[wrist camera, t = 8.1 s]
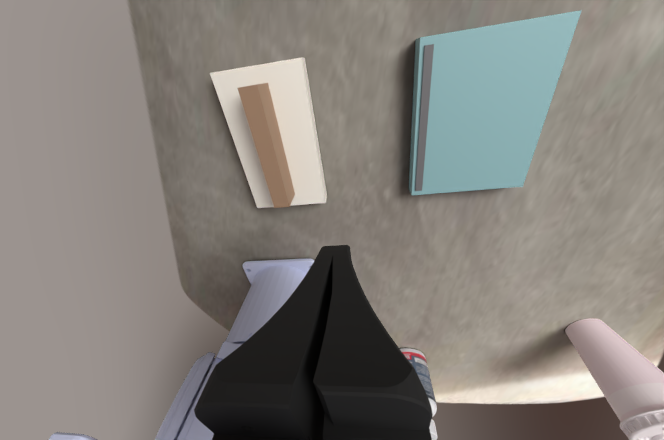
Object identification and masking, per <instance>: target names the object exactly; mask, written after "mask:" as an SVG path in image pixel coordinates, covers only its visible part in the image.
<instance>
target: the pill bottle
mask: <svg viewBox="0 0 664 440" xmlns="http://www.w3.org/2000/svg"><path fill="white" fill-rule="evenodd" d="M400 350H401V352H402V353H403V354H404V355H405V357H406V358H407V359H408V360H409V362H410V363H411V364H412V365H413V367H414V369H415V371H416V373H417V375H418V377H419V379H420V381H421V383H422V385H423V387H424V389H425V391H426V394H427V396H428V399H429V402H430V405H431V408H432V417H433V416H434V415H435V413H436V410H437V407H436V401H435V397H434V393H433V388H432V384H431V380H430V375H429V371H428V367H427V362H426V359H425V356H424V354H423V353H422V352H420V351H418V350H416V349H412V348H401V349H400ZM429 429H430V434H431V438H432V440H436V439H437V432H436V428H435V423H434V421H433V420H432V419H431V423H430V427H429Z"/></svg>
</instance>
